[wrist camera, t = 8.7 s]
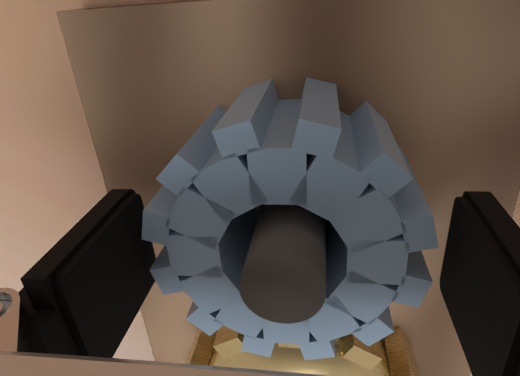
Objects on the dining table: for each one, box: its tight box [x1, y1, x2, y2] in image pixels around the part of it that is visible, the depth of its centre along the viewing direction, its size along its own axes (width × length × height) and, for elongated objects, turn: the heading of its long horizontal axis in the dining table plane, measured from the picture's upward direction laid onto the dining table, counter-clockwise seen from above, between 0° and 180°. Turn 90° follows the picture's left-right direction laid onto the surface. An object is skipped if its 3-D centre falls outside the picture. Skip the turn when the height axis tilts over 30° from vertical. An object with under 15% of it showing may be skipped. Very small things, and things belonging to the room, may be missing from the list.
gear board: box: [57, 0, 520, 376], centre depth 14 cm, size 14×22×6 cm, turn 4°
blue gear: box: [142, 77, 439, 360], centre depth 11 cm, size 7×7×4 cm
